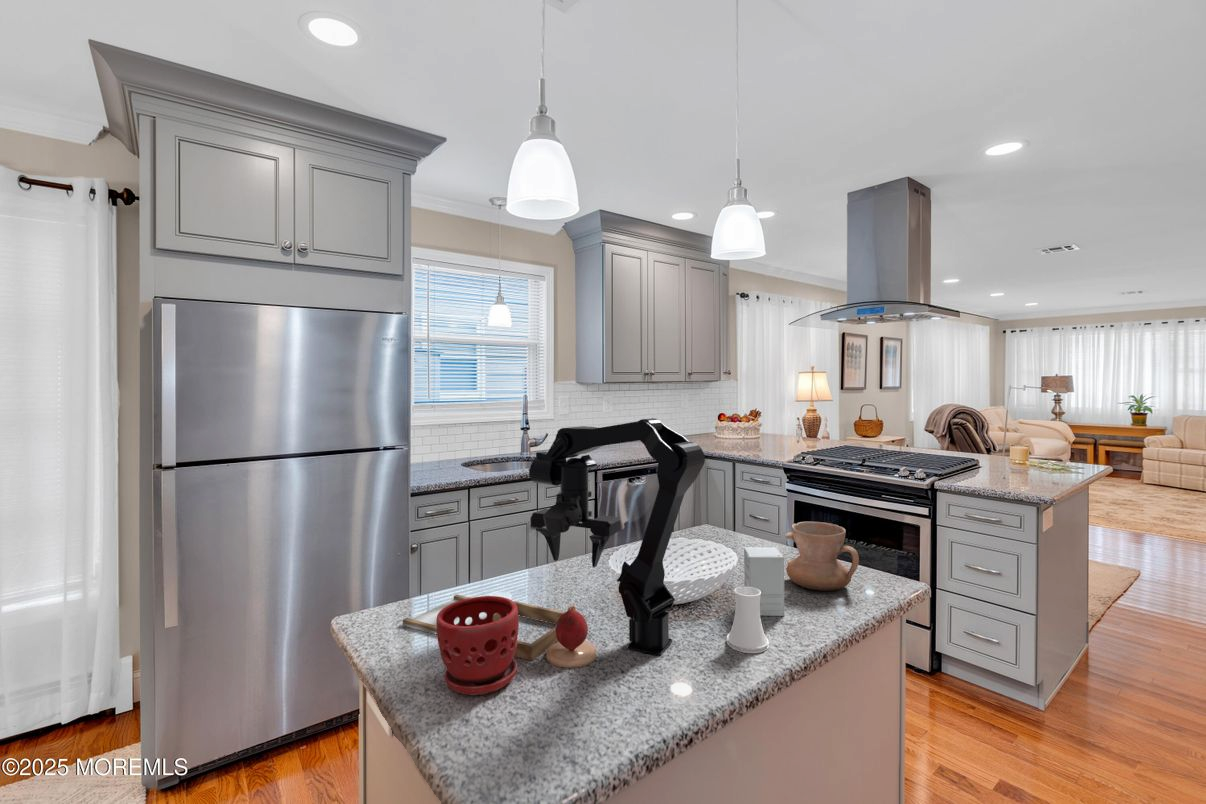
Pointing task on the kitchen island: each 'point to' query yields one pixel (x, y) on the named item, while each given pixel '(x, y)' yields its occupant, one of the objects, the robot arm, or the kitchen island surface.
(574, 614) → the onion
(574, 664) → the saucer
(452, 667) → the plant pot
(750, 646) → the vase
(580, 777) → the kitchen island surface
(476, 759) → the kitchen island surface
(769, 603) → the supplement box
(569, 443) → the robot arm
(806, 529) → the ceramic jug
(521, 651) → the wooden double frame
